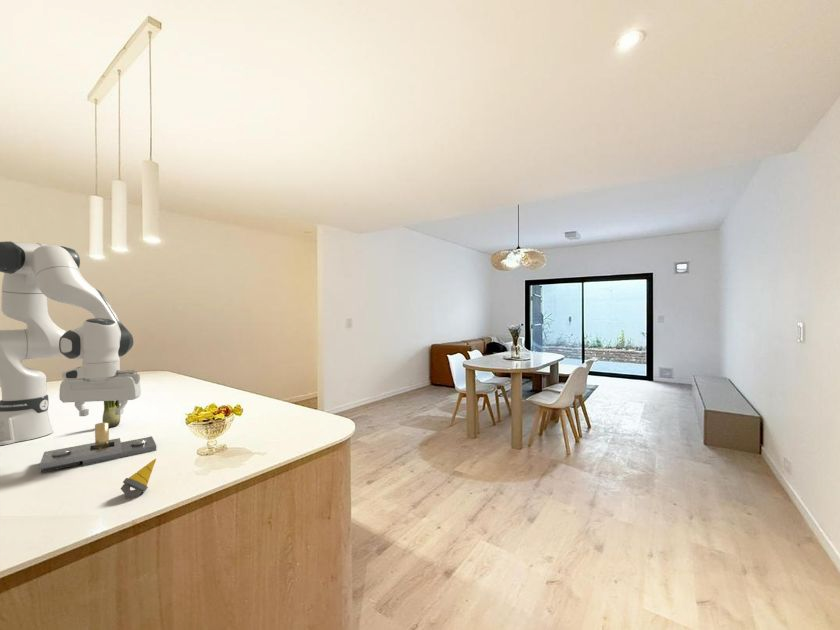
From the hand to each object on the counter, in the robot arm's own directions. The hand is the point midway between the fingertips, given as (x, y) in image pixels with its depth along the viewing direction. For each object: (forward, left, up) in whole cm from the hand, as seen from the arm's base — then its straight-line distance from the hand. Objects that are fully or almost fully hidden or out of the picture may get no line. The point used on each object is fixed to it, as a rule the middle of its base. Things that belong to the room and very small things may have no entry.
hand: (101, 415), depth 113 cm
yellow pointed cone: (+24, -29, -13) cm, 40 cm away
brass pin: (0, 0, -13) cm, 13 cm away
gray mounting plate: (0, 0, -13) cm, 13 cm away
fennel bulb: (-16, +34, -13) cm, 39 cm away
